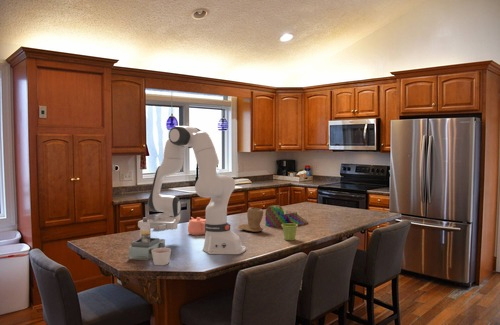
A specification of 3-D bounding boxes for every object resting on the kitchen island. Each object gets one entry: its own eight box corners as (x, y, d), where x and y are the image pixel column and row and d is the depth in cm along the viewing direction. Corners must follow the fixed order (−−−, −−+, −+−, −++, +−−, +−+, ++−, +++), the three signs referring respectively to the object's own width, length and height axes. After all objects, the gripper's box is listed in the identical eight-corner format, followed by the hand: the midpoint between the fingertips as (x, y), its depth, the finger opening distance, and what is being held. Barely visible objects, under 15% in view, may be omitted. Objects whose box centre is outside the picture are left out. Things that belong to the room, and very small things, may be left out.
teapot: (196, 237, 236) (196, 220, 236) (183, 232, 251) (183, 216, 251) (213, 235, 243) (212, 218, 242) (199, 230, 258) (199, 214, 257)
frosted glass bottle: (152, 242, 199) (152, 216, 198) (147, 244, 194) (147, 218, 194) (143, 242, 200) (143, 216, 200) (138, 244, 195) (138, 218, 195)
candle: (167, 266, 179) (166, 252, 179) (148, 265, 181) (148, 252, 180) (174, 261, 188) (174, 247, 188) (156, 260, 190) (156, 247, 189)
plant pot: (278, 239, 230) (278, 224, 230) (289, 237, 236) (289, 222, 236) (289, 242, 223) (289, 227, 223) (301, 239, 229) (301, 224, 229)
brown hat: (267, 231, 254) (267, 207, 253) (254, 234, 245) (254, 209, 245) (250, 227, 264) (250, 205, 264) (237, 230, 256) (237, 207, 255)
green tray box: (166, 250, 207) (165, 236, 206) (149, 260, 189) (148, 244, 189) (147, 249, 209) (147, 235, 209) (129, 259, 192) (129, 243, 192)
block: (283, 229, 259) (283, 207, 259) (265, 225, 272) (265, 205, 272) (308, 224, 276) (308, 204, 275) (290, 220, 289) (290, 201, 288)
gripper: (145, 215, 217) (131, 220, 204) (179, 217, 212) (168, 221, 199) (145, 227, 218) (132, 232, 204) (180, 228, 213) (168, 234, 199)
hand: (150, 227), depth 202 cm, fingers open, 8 cm apart
